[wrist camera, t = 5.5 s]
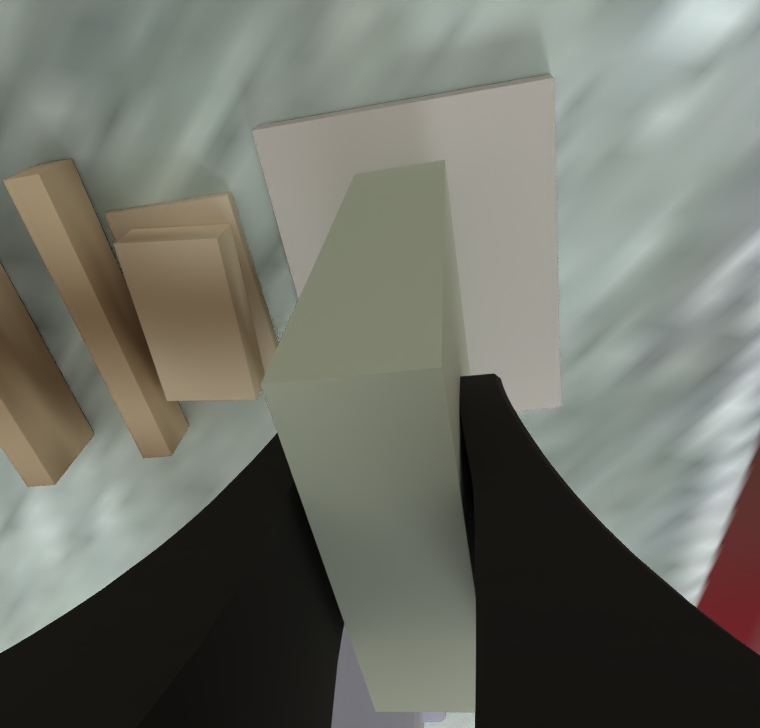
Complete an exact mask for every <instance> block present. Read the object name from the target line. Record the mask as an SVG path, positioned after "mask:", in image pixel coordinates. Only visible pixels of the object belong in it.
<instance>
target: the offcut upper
mask: <svg viewBox="0 0 760 728" xmlns="http://www.w3.org/2000/svg"><path fill="white" fill-rule="evenodd" d="M113 245H114V248H115V250H116V253H117V256H118V259H119V262H120V265H121V268H122V271H123V274H124V277H125V280H126V283H127V286H128V288H129V291H130V294H131V297H132V300H133V303H134V306H135V309H136V312H137V315H138V318H139V321H140V324H141V326H142V329H143V332H144V335H145V338H146V341H147V344H148V347H149V350H150V353H151V356H152V359H153V362H154V364H155V367H156V370H157V373H158V376H159V379H160V382H161V385H162V388H163V391H164V394H165V397H166V400H167V401H216V400H257V397H258V395H259V393H260V391H261V389H262V387H261V382H262V380H263V378H264V376H265V373H264V368H263V364H262V359H261V355H260V351H259V346H258V342H257V337H256V333H255V329H254V324H253V320H252V316H251V311H250V307H249V302H248V298H247V294H246V289H245V285H244V281H243V276H242V272H241V267H240V263H239V259H238V254H237V250H236V246H235V241H234V237H233V232H232V228H231V224H215V225H197V226H178V227H160V228H142V229H132V230H130V231H129V232H128V233H127V234H125V235H124V236H123V237H121V238H120V239H119V240H117V241H116V242H115V243H113Z"/></svg>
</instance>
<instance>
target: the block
mask: <svg viewBox="0 0 760 728" xmlns="http://www.w3.org/2000/svg"><path fill="white" fill-rule="evenodd" d="M460 376H470V367H469V359H468V350H467V342H466V333H465V325H464V316H463V308H462V299H461V291H460V282H459V274H458V265H457V257H456V248H455V240H454V231H453V223H452V214H451V206H450V197H449V189H448V180H447V172H446V163H445V160H440V161H433V162H427V163H420V164H414V165H408V166H401V167H395V168H388V169H382V170H376V171H369V172H363V173H357V174H354V177H353V179H352V181H351V183H350V186H349V188H348V190H347V192H346V195H345V197H344V199H343V201H342V203H341V206H340V208H339V210H338V212H337V215H336V217H335V219H334V221H333V224H332V226H331V228H330V230H329V233H328V235H327V237H326V239H325V241H324V244H323V246H322V248H321V250H320V253H319V255H318V257H317V259H316V262H315V264H314V266H313V268H312V271H311V273H310V275H309V277H308V279H307V282H306V284H305V286H304V288H303V291H302V293H301V295H300V297H299V300H298V302H297V304H296V306H295V309H294V311H293V313H292V315H291V317H290V320H289V322H288V324H287V326H286V329H285V331H284V333H283V335H282V338H281V340H280V342H279V344H278V347H277V349H276V351H275V353H274V355H273V358H272V360H271V362H270V364H269V367H268V369H267V371H266V373H265V376H264V378H263V380H262V382H261V387H262V390H263V393H264V396H265V399H266V402H267V405H268V407H269V410H270V413H271V416H272V419H273V422H274V424H275V427H276V430H277V433H278V436H279V439H280V441H281V444H282V447H283V450H284V453H285V456H286V458H287V461H288V464H289V467H290V470H291V473H292V476H293V478H294V481H295V484H296V487H297V490H298V493H299V495H300V498H301V501H302V504H303V507H304V510H305V512H306V515H307V518H308V521H309V524H310V527H311V529H312V532H313V535H314V538H315V541H316V544H317V547H318V549H319V552H320V555H321V558H322V561H323V564H324V566H325V569H326V572H327V575H328V578H329V581H330V583H331V586H332V589H333V592H334V595H335V598H336V601H337V603H338V606H339V609H340V612H341V615H342V618H343V620H344V623H345V626H346V629H347V632H348V635H349V637H350V640H351V643H352V646H353V649H354V652H355V654H356V657H357V660H358V663H359V666H360V669H361V672H362V674H363V677H364V680H365V683H366V686H367V689H368V691H369V694H370V697H371V700H372V703H373V706H374V708H375V711H376V712H475V694H476V575H475V522H474V515H473V507H472V500H471V492H470V485H469V477H468V470H467V462H466V455H465V447H464V440H463V432H462V425H461V417H460V410H459V395H460Z"/></svg>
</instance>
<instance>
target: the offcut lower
mask: <svg viewBox="0 0 760 728" xmlns="http://www.w3.org/2000/svg"><path fill="white" fill-rule="evenodd" d="M104 215H105V217H106V220H107V222H108V224H109V227H110V229H111V231H112V234H113V236H114V238H115V241H117V240H119V239H120V238H121V237H123V236H124V235H125V234H127V233H128V232H129V231H130V230H132V229H142V228H160V227H178V226H197V225H215V224H231V228H232V232H233V237H234V241H235V246H236V250H237V254H238V259H239V263H240V267H241V272H242V276H243V281H244V285H245V289H246V294H247V298H248V302H249V307H250V311H251V316H252V320H253V324H254V329H255V333H256V337H257V342H258V346H259V351H260V355H261V359H262V364H263V368H264V373H266V371H267V369H268V367H269V364H270V362H271V360H272V358H273V355H274V353H275V351H276V349H277V347H278V340H277V337H276V334H275V331H274V327H273V324H272V321H271V318H270V315H269V311H268V308H267V305H266V302H265V299H264V295H263V292H262V289H261V286H260V283H259V279H258V276H257V273H256V270H255V266H254V263H253V260H252V257H251V254H250V250H249V247H248V244H247V241H246V238H245V234H244V231H243V228H242V225H241V222H240V218H239V215H238V212H237V209H236V206H235V202H234V199H233V196H232V193H231V192H226V193H220V194H214V195H207V196H201V197H195V198H189V199H182V200H176V201H170V202H164V203H157V204H151V205H145V206H138V207H132V208H126V209H120V210H113V211H108V212H107V213H105V214H104Z"/></svg>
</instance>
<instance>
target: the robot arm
mask: <svg viewBox="0 0 760 728" xmlns="http://www.w3.org/2000/svg"><path fill="white" fill-rule="evenodd" d="M459 410H460V417H461V425H462V432H463V440H464V447H465V455H466V462H467V470H468V477H469V485H470V492H471V500H472V507H473V515H474V522H475V575H476V694H475V728H760V655H758V654H757V653H755V652H754V651H753V650H751V649H750V648H749V647H747V646H746V645H745V644H743V643H742V642H740V641H739V640H738V639H736V638H735V637H733V636H732V635H731V634H730V633H728V632H727V631H726V630H724V629H723V628H722V627H721V626H719V625H718V624H717V623H715V622H714V621H713V620H712V619H710V618H709V617H708V616H706V615H705V614H704V613H703V612H701V611H700V610H699V609H697V608H696V607H695V606H694V605H692V604H691V603H690V602H688V601H687V600H686V599H685V598H684V597H683V596H682V595H680V594H679V593H678V592H677V591H676V590H675V589H673V588H672V587H671V586H670V585H669V584H668V583H666V582H665V581H664V580H663V579H662V578H661V577H659V576H658V575H657V574H656V573H655V572H654V571H653V570H651V569H650V568H649V567H648V566H647V565H646V564H644V563H643V562H642V561H641V560H640V559H639V558H637V557H636V556H635V555H634V554H633V553H632V552H631V551H630V550H629V549H628V548H627V547H626V546H625V545H624V544H623V543H622V542H621V541H620V540H619V539H617V538H616V537H615V536H614V535H613V534H612V533H611V532H610V531H609V530H608V529H607V528H606V527H605V526H604V525H603V524H602V523H601V521H600V520H599V519H598V518H597V517H596V516H595V515H594V514H593V513H592V512H591V511H590V510H589V509H588V508H587V507H586V506H585V504H584V503H583V502H582V501H581V500H580V499H579V498H578V497H577V495H576V494H575V493H574V492H573V491H572V490H571V488H570V487H569V486H568V485H567V484H566V482H565V481H564V480H563V479H562V477H561V476H560V475H559V474H558V472H557V471H556V470H555V469H554V467H553V466H552V465H551V464H550V462H549V461H548V460H547V458H546V457H545V456H544V454H543V453H542V451H541V450H540V449H539V447H538V446H537V444H536V443H535V441H534V440H533V438H532V437H531V435H530V434H529V432H528V431H527V429H526V428H525V426H524V425H523V423H522V422H521V420H520V418H519V417H518V415H517V413H516V411H515V409H514V408H513V406H512V404H511V402H510V400H509V398H508V396H507V394H506V392H505V389H504V387H503V384H502V381H501V378H500V377H498V376H497V375H496V374H494V373H493V374H482V375H471V376H460V395H459ZM445 717H446V712H376V711H375V708H374V706H373V703H372V700H371V697H370V694H369V691H368V689H367V686H366V683H365V680H364V677H363V674H362V672H361V669H360V666H359V663H358V660H357V657H356V654H355V652H354V649H353V646H352V643H351V640H350V637H349V635H348V632H347V629H346V626H345V623H344V620H343V618H342V615H341V612H340V609H339V606H338V603H337V601H336V598H335V595H334V592H333V589H332V586H331V583H330V581H329V578H328V575H327V572H326V569H325V566H324V564H323V561H322V558H321V555H320V552H319V549H318V547H317V544H316V541H315V538H314V535H313V532H312V529H311V527H310V524H309V521H308V518H307V515H306V512H305V510H304V507H303V504H302V501H301V498H300V495H299V493H298V490H297V487H296V484H295V481H294V478H293V476H292V473H291V470H290V467H289V464H288V461H287V458H286V456H285V453H284V450H283V447H282V444H281V441H280V439H279V436H278V433H277V434H276V435H275V436H274V437H273V438H272V439H271V441H270V442H269V443H268V444H267V445H266V446H265V447H264V448H263V449H262V451H261V452H260V453H259V454H258V455H257V456H256V457H255V458H254V459H253V461H252V462H251V463H250V464H249V465H248V466H247V467H246V468H245V469H244V470H243V471H242V472H241V473H240V474H239V475H238V476H237V477H236V478H235V479H234V480H233V481H232V482H231V483H230V484H229V485H228V486H227V487H226V488H225V489H224V490H223V491H222V492H221V493H220V494H219V495H218V496H217V497H216V498H215V499H214V500H213V501H212V502H211V503H210V504H209V505H207V506H206V507H205V508H204V509H203V510H202V511H201V512H200V513H199V514H198V515H196V516H195V517H194V518H193V519H192V520H191V521H190V522H188V523H187V524H186V525H185V526H184V527H183V528H181V529H180V530H179V531H178V532H177V533H175V534H174V535H173V536H172V537H171V538H170V539H168V540H167V541H166V542H165V543H163V544H162V545H161V546H160V547H158V548H157V549H156V550H155V551H153V552H152V553H151V554H149V555H148V556H147V557H145V558H144V559H143V560H141V561H140V562H139V563H137V564H136V565H134V566H133V567H132V568H130V569H129V570H128V571H126V572H125V573H124V574H122V575H121V576H120V577H118V578H117V579H116V580H114V581H113V582H112V583H110V584H109V585H107V586H106V587H105V588H103V589H102V590H100V591H99V592H98V593H96V594H95V595H93V596H92V597H90V598H89V599H87V600H86V601H84V602H83V603H81V604H80V605H78V606H77V607H75V608H74V609H72V610H71V611H69V612H68V613H66V614H64V615H63V616H61V617H60V618H58V619H56V620H55V621H53V622H52V623H50V624H48V625H47V626H45V627H44V628H42V629H40V630H39V631H37V632H36V633H34V634H32V635H31V636H29V637H27V638H26V639H24V640H22V641H21V642H19V643H17V644H16V645H14V646H12V647H11V648H9V649H7V650H5V651H3V652H2V653H0V728H424V722H441V721H443V720H444V719H445Z"/></svg>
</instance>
